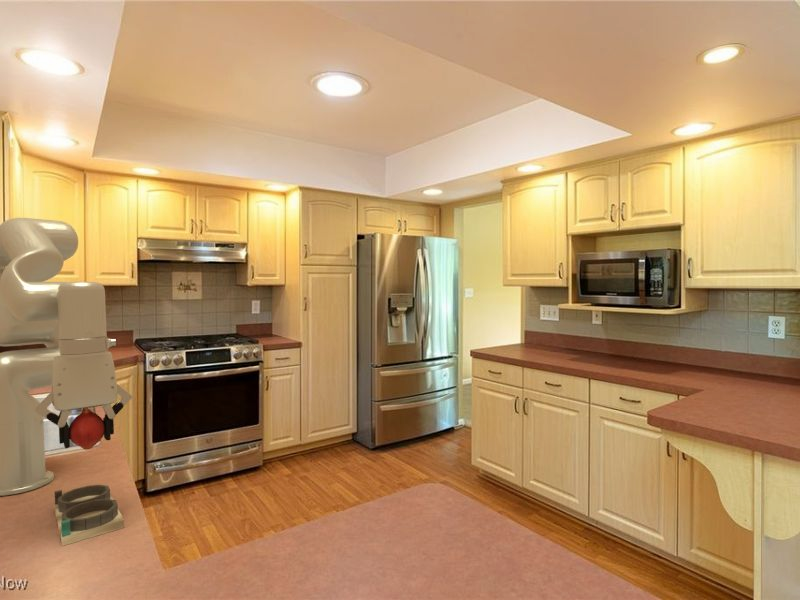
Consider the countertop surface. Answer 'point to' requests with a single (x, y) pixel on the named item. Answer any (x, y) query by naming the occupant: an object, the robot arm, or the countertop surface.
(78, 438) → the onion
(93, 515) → the cream flat ringed piece
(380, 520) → the countertop surface
